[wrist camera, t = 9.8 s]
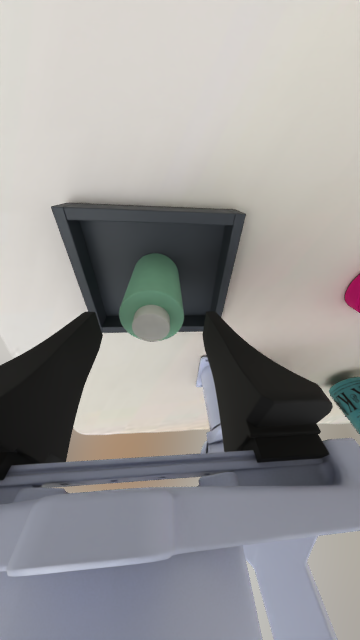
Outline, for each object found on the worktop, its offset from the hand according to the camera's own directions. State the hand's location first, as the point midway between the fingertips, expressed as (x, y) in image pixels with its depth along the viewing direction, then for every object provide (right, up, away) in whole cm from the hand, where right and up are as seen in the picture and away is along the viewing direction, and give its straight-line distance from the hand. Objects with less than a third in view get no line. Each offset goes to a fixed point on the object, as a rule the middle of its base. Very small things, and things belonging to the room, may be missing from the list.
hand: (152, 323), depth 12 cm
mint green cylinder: (-1, +5, +6) cm, 7 cm away
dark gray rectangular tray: (-1, +5, +6) cm, 8 cm away
